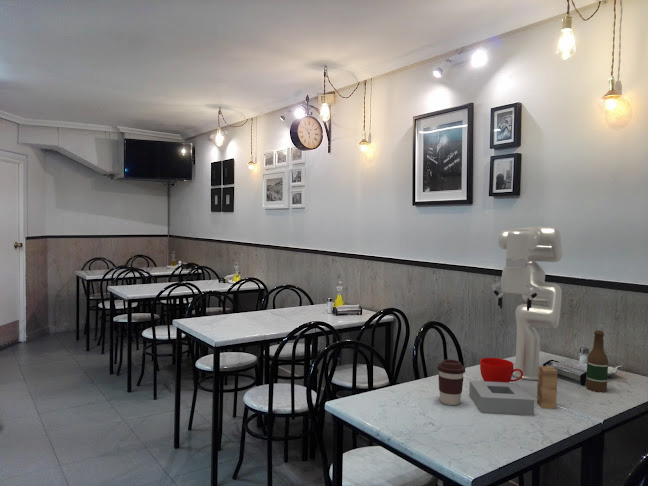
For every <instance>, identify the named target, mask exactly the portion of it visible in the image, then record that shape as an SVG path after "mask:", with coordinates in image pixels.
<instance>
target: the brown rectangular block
mask: <svg viewBox="0 0 648 486" xmlns="http://www.w3.org/2000/svg"><path fill="white" fill-rule="evenodd" d="M558 373H559V370H558V369H556V368H555V367H554V366H548V365H547V366H545V365H539V366H538V380H537V391H536V404H537V405H538V407H540V408H541V409H547V408H550V409H551V410H552V409H553V410H557V398H558V397H557V394H558ZM550 409H549V410H550Z"/></svg>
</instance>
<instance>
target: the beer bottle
mask: <svg viewBox="0 0 648 486" xmlns="http://www.w3.org/2000/svg"><path fill="white" fill-rule="evenodd" d="M593 334H594V338H593V346H592V350H590V352H589V353H588V356H587V360H586V361H587V362H586V376H585V377H586V378H585V388H586V389H587V390H588V391H590V390H591V392H593V391H595V393H600V392H602V393H606V392H607V391H608V389H607V388H608V374H609V373H608V372H609V360H608V356H607V355H606V353H605V349H604V346H605V345H604V336H605V332H604V331H602V330H594V332H593Z"/></svg>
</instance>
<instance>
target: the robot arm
mask: <svg viewBox="0 0 648 486" xmlns="http://www.w3.org/2000/svg"><path fill="white" fill-rule="evenodd" d="M497 242H498V246H499V247H500V249H502V250H506V254H505V255H506V256H505V266H503V268H502V273H501V281H499V282H497V283H494V284H492V285H491V286H490V288H491V289H492V292H493V294H494V295H495V296H496V297H497V306H499V309H503V296H504V295H505V294H509V295H521V297H522V299H523V300H524V302H526V303H521V304H519V305H517V307H515V323H516V342H515V343H516V344H515V345H516V346H515V347H516V348H515V364H514V369H520V370H522V372H523V377H522V378H521V379H522V380H525V381H538V366H540V349H541V348H540V347H541V337H540V334H539V332H538V331H537V329H536V328H540V329H548V330H555V329H556V328H558V326H559V323H560V317H561V307H562V300H563V299H562V296H563V295H562V288H561V286H560V285H559V284H557V283H553V282H552V283H551V282H546V281H545V280H546V271H545V270H544V268H542V266H541V265H540V264H539V263H538V262H543V263H544V262H545V263H558V262H560V261H561V260H562V257H563V246H562V240H561V234H560V232H559V230H558V228H557V227H555V226H538V225H536V226H535V225H534V226H533V225H531V226H528V227H519V228H511V229H503V230H502V231H500V233H499V235H498V239H497ZM497 287H500V292H498V290H497ZM520 376H521V372H520V371H514V372H513V374H512V377H515V378H516V379H518V378H519V377H520ZM521 379H520V380H521Z"/></svg>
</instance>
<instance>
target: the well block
mask: <svg viewBox="0 0 648 486" xmlns="http://www.w3.org/2000/svg"><path fill="white" fill-rule="evenodd" d="M468 395H469V397H470V398H471V400H472V401H473V403H474V404H475V406H476V407H477V409H478V410H479V412H480V413H482V414H496V415H497V414H500V415H515V416H517V415H520V416H535V415H534V413H535V411H534V410H535V398H534V397H532V396H531V395H530V394H529V393H528V392H527V391H526V390H525V389H524V388H523V387H522V386H521V385H520V384H519V383H518V382H509V383H507V382H486V381H484V380H483V381H482V380H481V381H480V380H469V389H468Z"/></svg>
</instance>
